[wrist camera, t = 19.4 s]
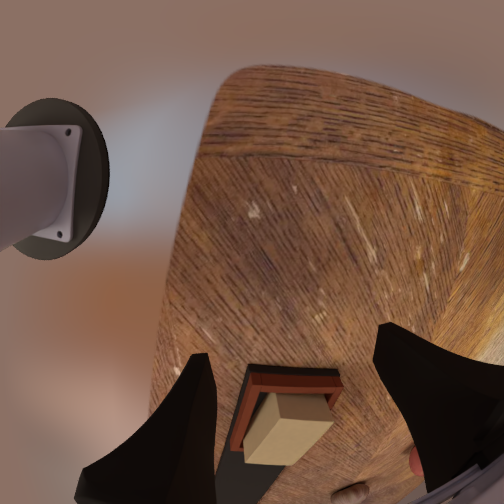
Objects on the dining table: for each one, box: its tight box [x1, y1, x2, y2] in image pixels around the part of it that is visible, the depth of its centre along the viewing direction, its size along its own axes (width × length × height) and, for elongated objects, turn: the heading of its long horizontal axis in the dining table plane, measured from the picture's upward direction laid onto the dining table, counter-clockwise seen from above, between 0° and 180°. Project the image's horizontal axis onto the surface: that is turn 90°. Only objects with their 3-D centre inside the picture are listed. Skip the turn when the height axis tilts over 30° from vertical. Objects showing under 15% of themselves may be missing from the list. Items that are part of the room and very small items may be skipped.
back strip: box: [215, 364, 344, 504], centre depth 28 cm, size 8×40×2 cm, turn 168°
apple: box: [409, 446, 424, 476], centre depth 29 cm, size 7×7×8 cm
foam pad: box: [243, 392, 334, 465], centre depth 22 cm, size 5×8×4 cm, turn 160°
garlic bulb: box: [331, 484, 369, 504], centre depth 32 cm, size 8×7×8 cm
